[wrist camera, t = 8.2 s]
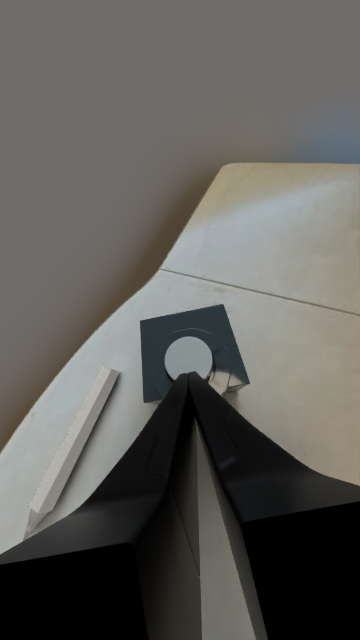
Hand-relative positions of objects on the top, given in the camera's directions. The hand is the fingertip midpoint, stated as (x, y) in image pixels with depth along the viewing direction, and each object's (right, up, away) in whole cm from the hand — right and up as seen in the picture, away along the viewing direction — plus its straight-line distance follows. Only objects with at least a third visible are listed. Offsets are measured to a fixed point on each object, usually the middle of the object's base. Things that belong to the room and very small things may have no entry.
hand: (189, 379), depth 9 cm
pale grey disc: (0, -1, +5) cm, 5 cm away
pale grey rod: (-12, -11, +11) cm, 19 cm away
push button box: (+1, -2, +13) cm, 13 cm away
